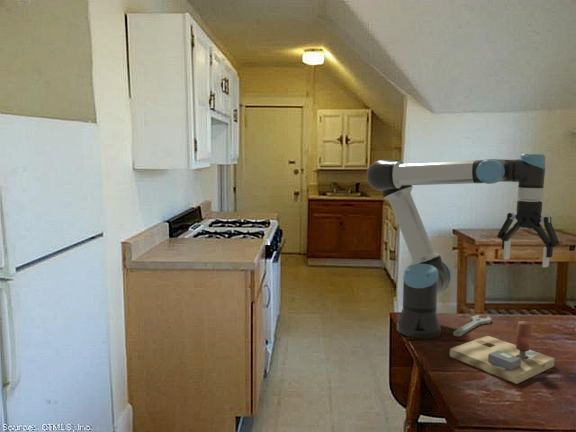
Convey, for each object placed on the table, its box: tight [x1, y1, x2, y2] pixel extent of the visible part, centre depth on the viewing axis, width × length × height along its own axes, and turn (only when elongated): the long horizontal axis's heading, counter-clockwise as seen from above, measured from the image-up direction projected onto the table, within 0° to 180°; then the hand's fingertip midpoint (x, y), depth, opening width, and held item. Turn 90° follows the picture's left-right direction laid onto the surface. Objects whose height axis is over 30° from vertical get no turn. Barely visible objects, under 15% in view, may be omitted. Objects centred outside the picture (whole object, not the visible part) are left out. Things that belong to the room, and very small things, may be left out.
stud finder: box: [488, 350, 521, 371], centre depth 138 cm, size 7×5×2 cm
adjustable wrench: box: [452, 314, 492, 337], centre depth 176 cm, size 25×6×2 cm, turn 131°
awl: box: [515, 320, 532, 360], centre depth 143 cm, size 4×4×13 cm
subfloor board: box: [449, 335, 555, 385], centre depth 146 cm, size 22×20×3 cm
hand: (525, 262), depth 161 cm, fingers open, 13 cm apart
